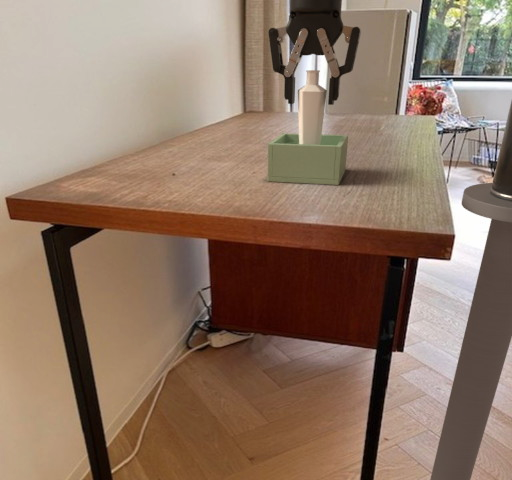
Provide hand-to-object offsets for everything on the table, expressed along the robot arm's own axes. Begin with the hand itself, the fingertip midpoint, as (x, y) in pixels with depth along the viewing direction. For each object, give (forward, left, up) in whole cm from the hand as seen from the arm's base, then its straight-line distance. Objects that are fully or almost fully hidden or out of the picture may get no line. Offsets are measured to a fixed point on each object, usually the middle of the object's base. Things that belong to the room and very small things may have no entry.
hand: (311, 103), depth 80 cm
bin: (0, 0, -11) cm, 11 cm away
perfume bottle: (0, 0, -11) cm, 11 cm away
